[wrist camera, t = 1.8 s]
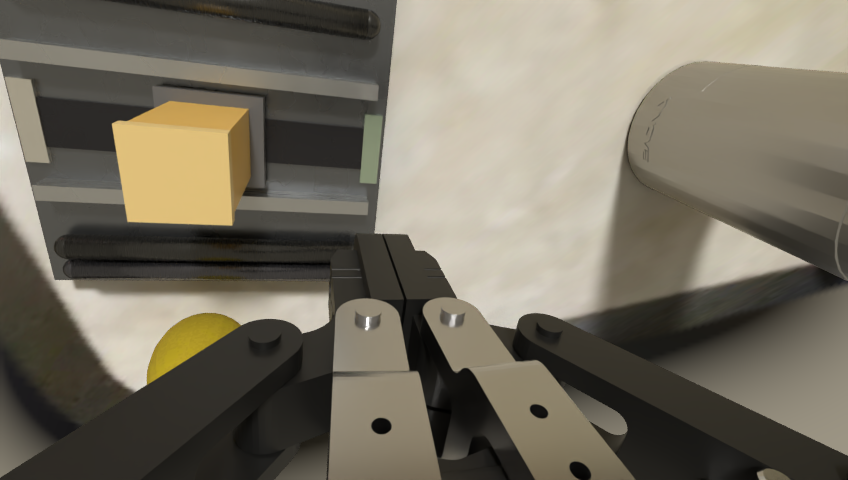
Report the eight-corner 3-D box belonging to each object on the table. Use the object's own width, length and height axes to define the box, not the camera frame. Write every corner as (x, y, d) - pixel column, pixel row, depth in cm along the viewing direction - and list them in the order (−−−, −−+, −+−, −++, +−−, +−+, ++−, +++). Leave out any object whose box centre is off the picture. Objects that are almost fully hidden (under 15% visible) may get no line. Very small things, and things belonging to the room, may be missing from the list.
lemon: (253, 359, 31) (234, 453, 24) (168, 352, 30) (122, 451, 23) (264, 296, 29) (248, 379, 22) (174, 284, 28) (126, 370, 21)
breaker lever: (264, 96, 22) (244, 121, 16) (266, 183, 24) (248, 236, 18) (157, 84, 21) (89, 107, 15) (168, 177, 23) (112, 233, 17)
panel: (394, -22, 23) (404, -29, 20) (367, 270, 30) (371, 292, 28) (-18, -101, 18) (-72, -122, 16) (68, 267, 26) (40, 292, 23)
